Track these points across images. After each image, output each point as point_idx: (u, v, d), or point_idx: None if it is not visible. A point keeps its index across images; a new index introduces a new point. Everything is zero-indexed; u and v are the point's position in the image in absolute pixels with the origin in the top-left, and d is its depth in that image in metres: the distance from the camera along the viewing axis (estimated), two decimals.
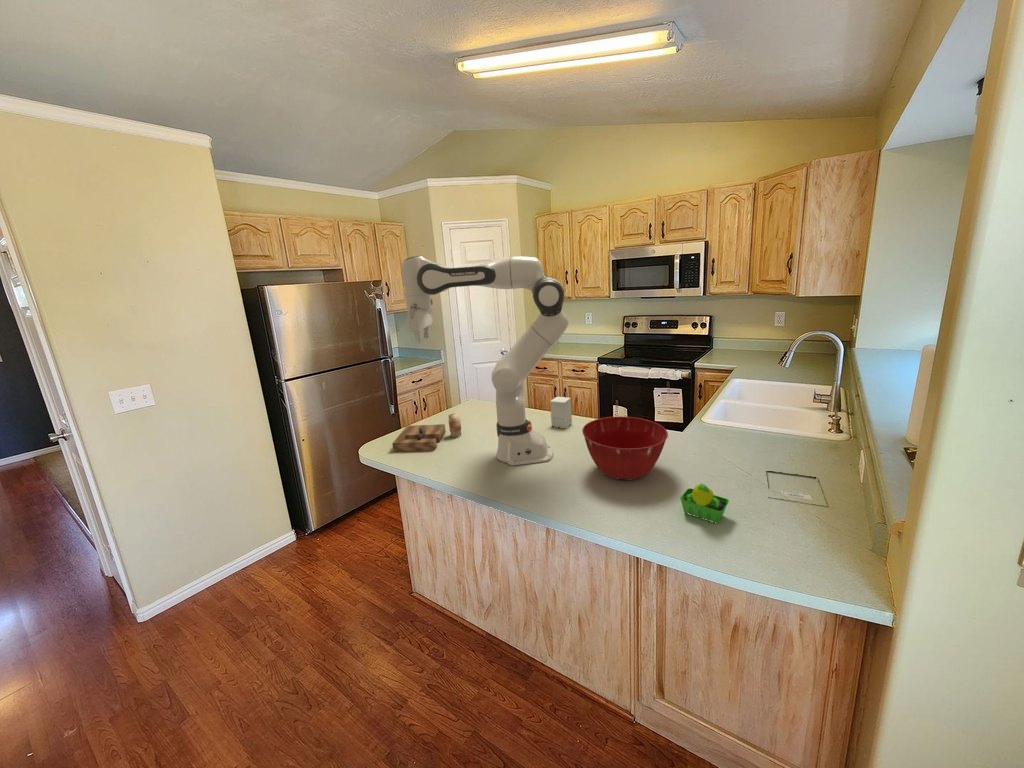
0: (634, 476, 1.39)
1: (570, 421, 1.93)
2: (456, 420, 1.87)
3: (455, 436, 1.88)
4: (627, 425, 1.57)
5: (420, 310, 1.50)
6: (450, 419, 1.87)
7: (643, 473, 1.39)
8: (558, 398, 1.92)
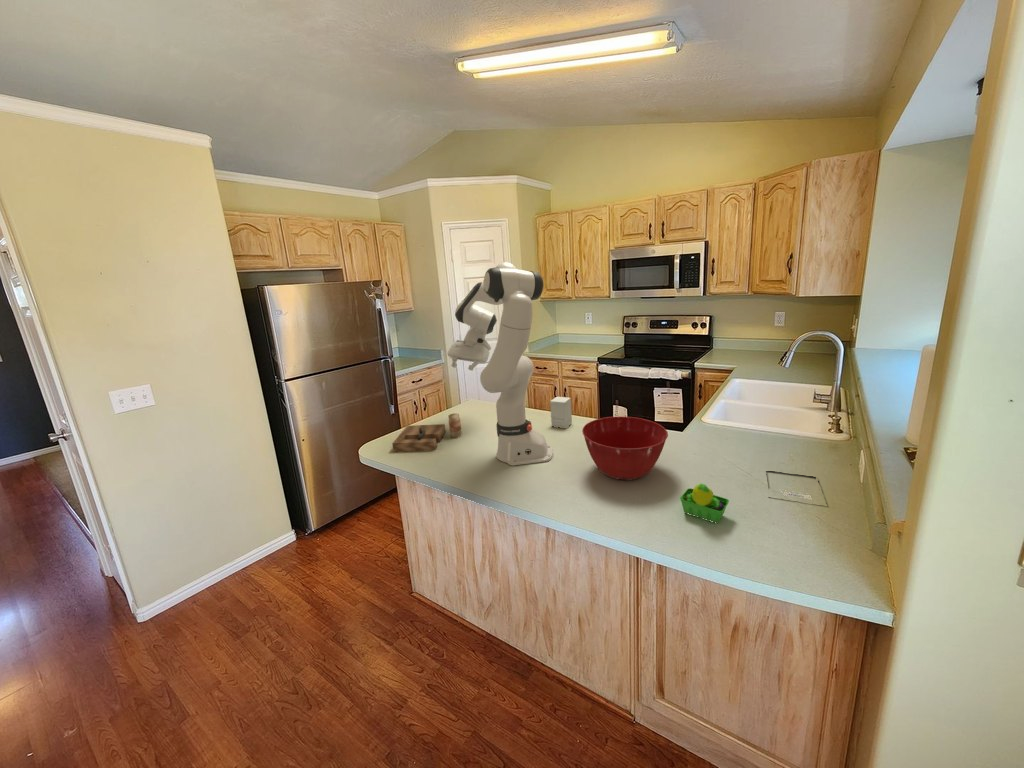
0: (634, 476, 1.39)
1: (570, 421, 1.93)
2: (456, 420, 1.87)
3: (455, 436, 1.88)
4: (627, 425, 1.57)
5: (461, 343, 1.94)
6: (450, 419, 1.87)
7: (643, 473, 1.39)
8: (558, 398, 1.92)
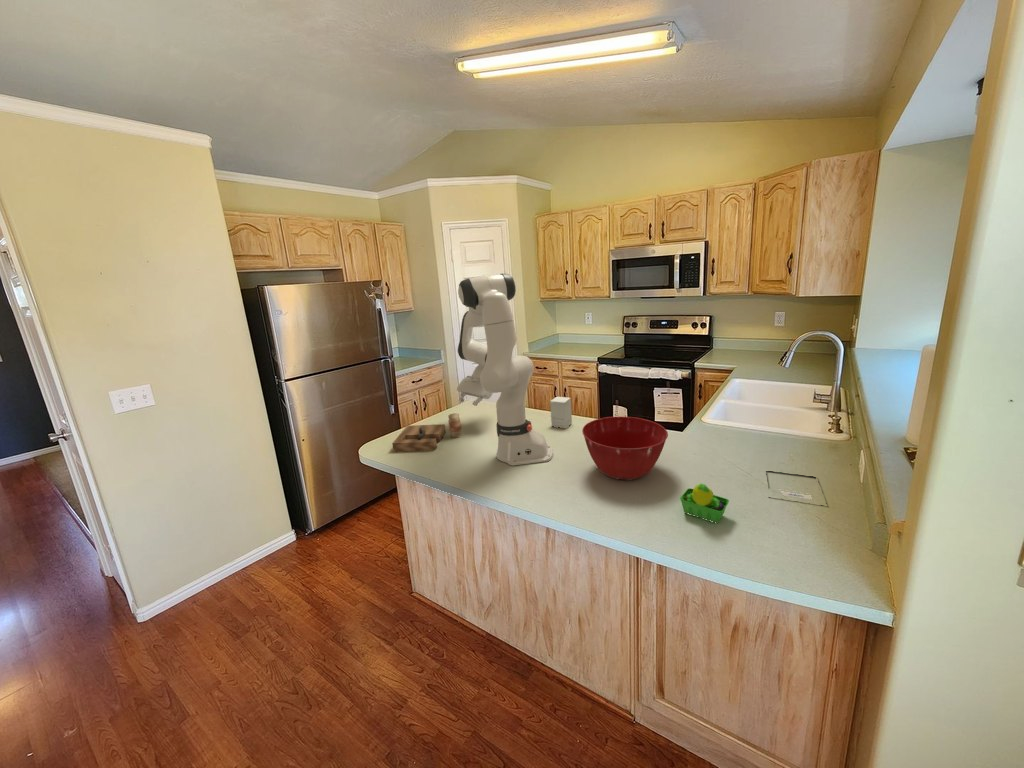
0: (634, 476, 1.39)
1: (570, 421, 1.93)
2: (456, 420, 1.87)
3: (455, 436, 1.88)
4: (627, 425, 1.57)
5: (469, 379, 1.99)
6: (450, 419, 1.87)
7: (643, 473, 1.39)
8: (558, 398, 1.92)
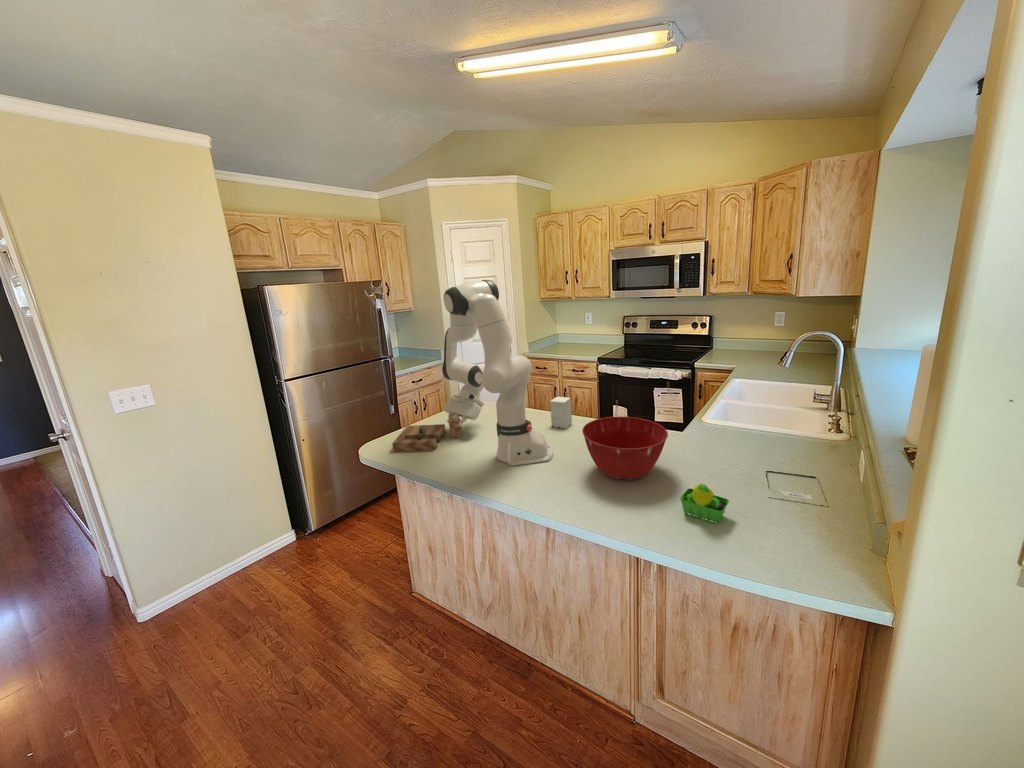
0: (634, 476, 1.39)
1: (570, 421, 1.93)
2: (456, 420, 1.87)
3: (455, 436, 1.88)
4: (627, 425, 1.57)
5: (456, 398, 1.94)
6: (450, 419, 1.87)
7: (643, 473, 1.39)
8: (558, 398, 1.92)
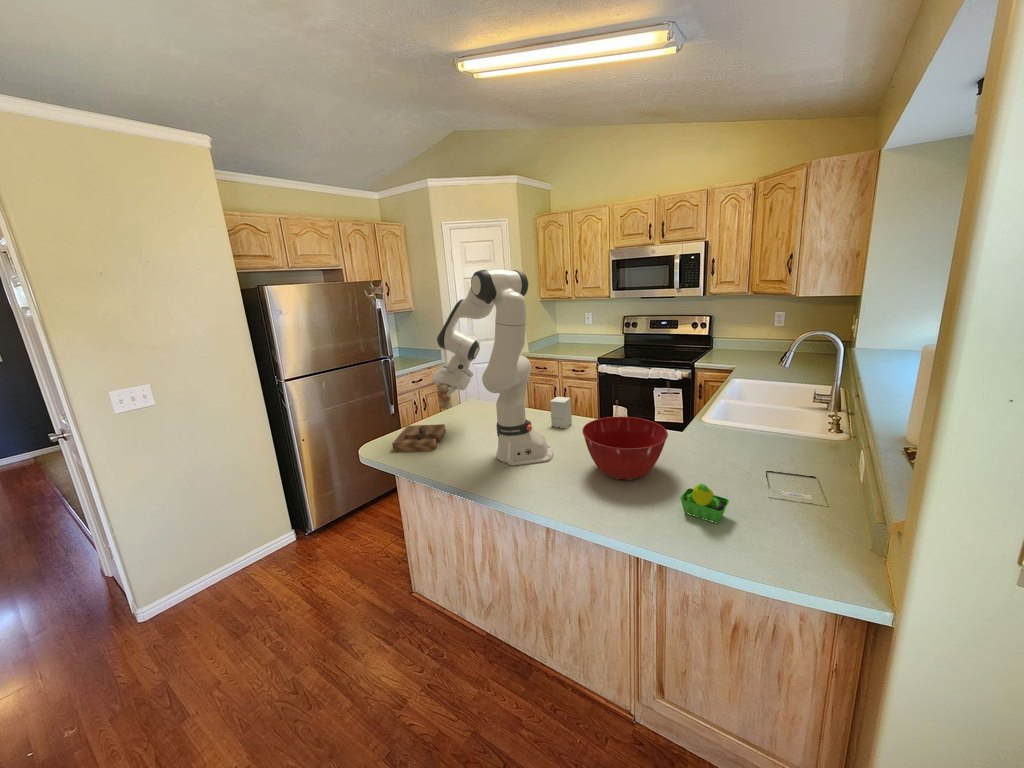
0: (634, 476, 1.39)
1: (570, 421, 1.93)
2: (445, 390, 1.84)
3: (443, 407, 1.86)
4: (627, 425, 1.57)
5: (445, 369, 1.91)
6: (438, 389, 1.84)
7: (643, 473, 1.39)
8: (558, 398, 1.92)
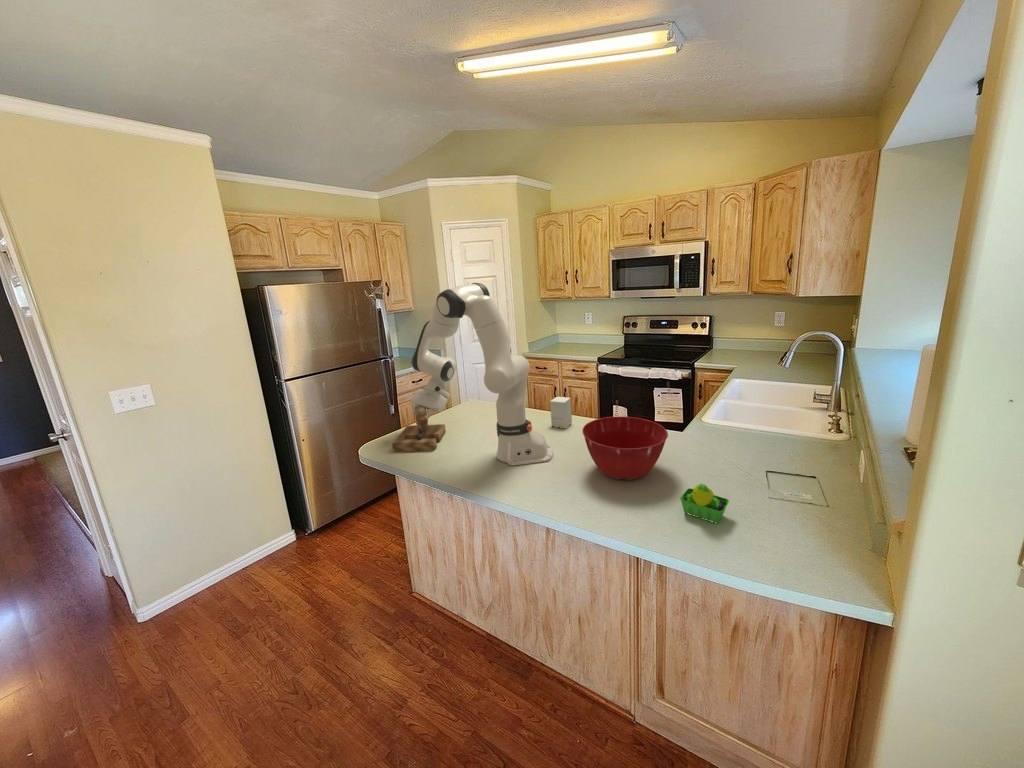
0: (634, 476, 1.39)
1: (570, 421, 1.93)
2: (422, 413, 1.87)
3: None
4: (627, 425, 1.57)
5: (423, 391, 1.94)
6: (416, 412, 1.87)
7: (643, 473, 1.39)
8: (558, 398, 1.92)
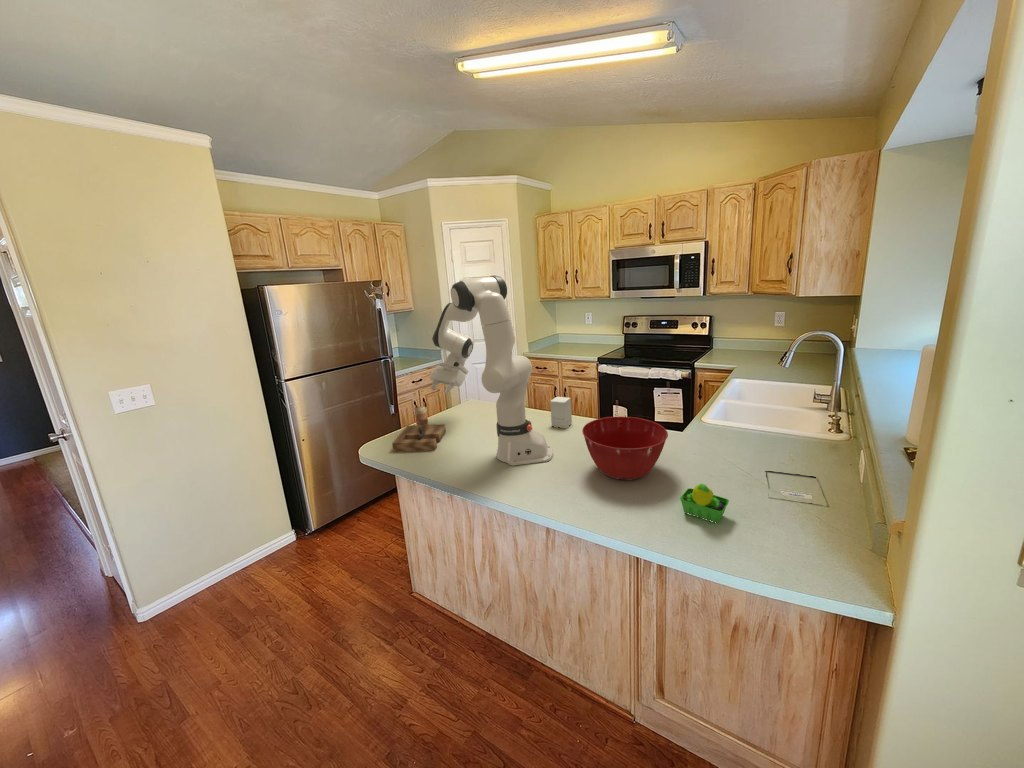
0: (634, 476, 1.39)
1: (570, 421, 1.93)
2: (422, 413, 1.87)
3: None
4: (627, 425, 1.57)
5: (442, 367, 2.01)
6: (416, 412, 1.87)
7: (643, 473, 1.39)
8: (558, 398, 1.92)
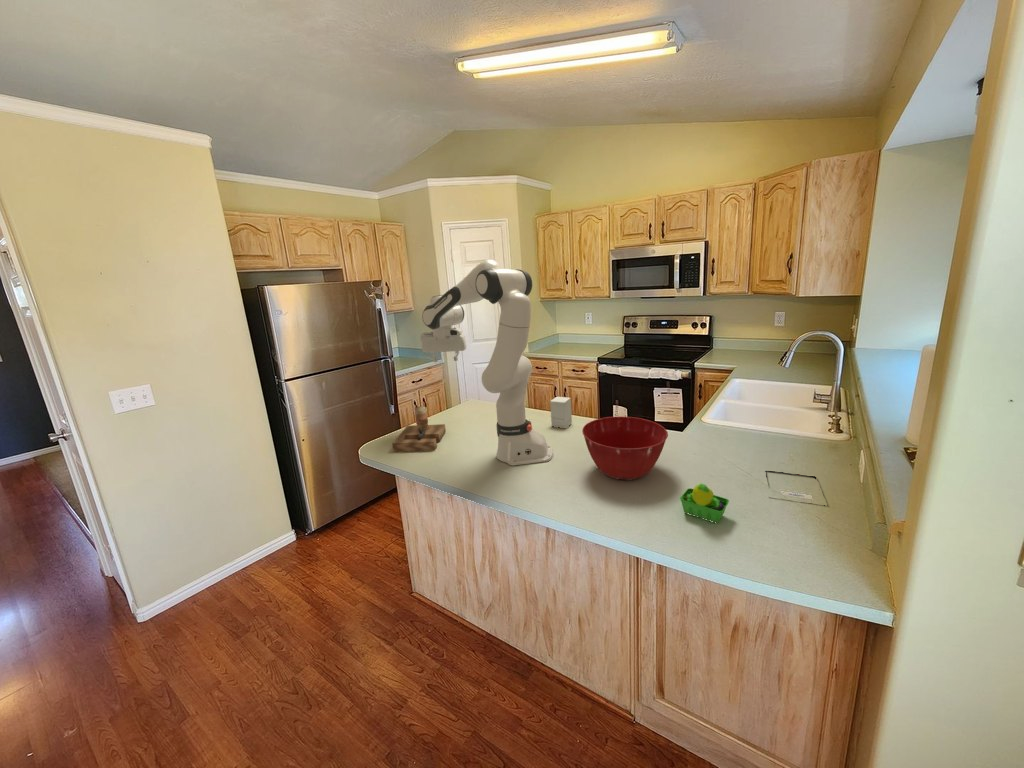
0: (634, 476, 1.39)
1: (570, 421, 1.93)
2: (422, 413, 1.87)
3: None
4: (627, 425, 1.57)
5: (432, 337, 1.91)
6: (416, 412, 1.87)
7: (643, 473, 1.39)
8: (558, 398, 1.92)
